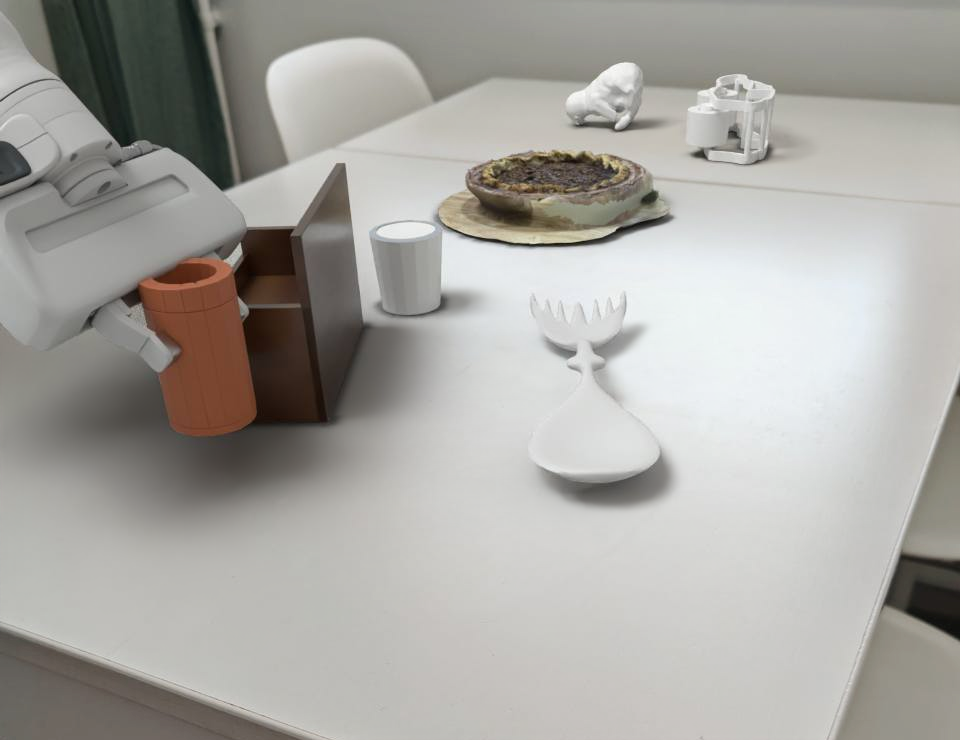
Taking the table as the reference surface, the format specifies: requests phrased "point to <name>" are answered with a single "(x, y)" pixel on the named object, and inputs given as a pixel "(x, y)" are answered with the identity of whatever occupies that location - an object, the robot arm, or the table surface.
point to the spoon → (589, 406)
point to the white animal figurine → (609, 96)
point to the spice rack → (301, 307)
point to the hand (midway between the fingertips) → (206, 342)
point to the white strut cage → (731, 119)
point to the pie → (552, 197)
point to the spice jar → (202, 347)
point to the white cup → (408, 265)
